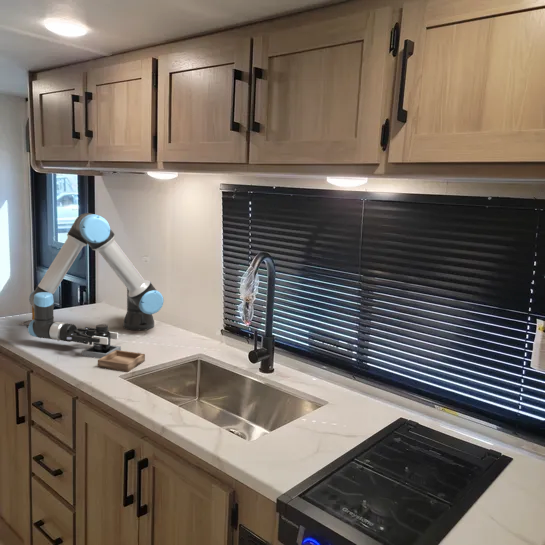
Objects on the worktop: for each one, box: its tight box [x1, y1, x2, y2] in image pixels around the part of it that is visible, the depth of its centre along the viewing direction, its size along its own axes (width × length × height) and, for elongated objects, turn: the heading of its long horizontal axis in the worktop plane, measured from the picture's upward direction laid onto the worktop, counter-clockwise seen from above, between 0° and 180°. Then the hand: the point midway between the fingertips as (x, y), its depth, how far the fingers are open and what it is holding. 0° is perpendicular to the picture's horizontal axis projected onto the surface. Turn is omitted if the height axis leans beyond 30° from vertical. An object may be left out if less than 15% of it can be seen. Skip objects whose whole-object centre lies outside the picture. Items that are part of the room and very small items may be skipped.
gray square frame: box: [81, 344, 122, 359], centre depth 205 cm, size 11×11×2 cm
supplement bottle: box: [92, 323, 112, 353], centre depth 204 cm, size 7×7×12 cm
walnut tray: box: [97, 350, 146, 373], centre depth 194 cm, size 13×13×3 cm
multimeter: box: [16, 283, 37, 329], centre depth 237 cm, size 15×10×20 cm
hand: (112, 338), depth 203 cm, fingers closed on supplement bottle, 7 cm apart
